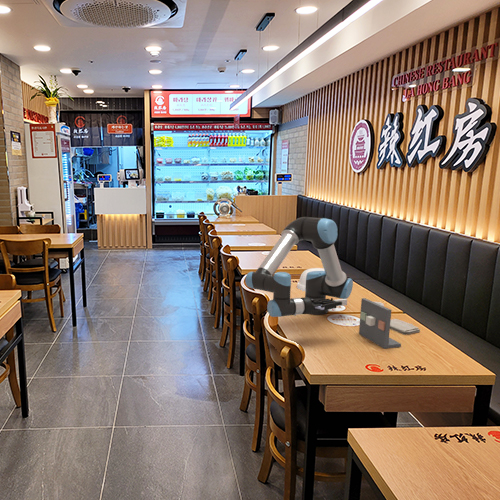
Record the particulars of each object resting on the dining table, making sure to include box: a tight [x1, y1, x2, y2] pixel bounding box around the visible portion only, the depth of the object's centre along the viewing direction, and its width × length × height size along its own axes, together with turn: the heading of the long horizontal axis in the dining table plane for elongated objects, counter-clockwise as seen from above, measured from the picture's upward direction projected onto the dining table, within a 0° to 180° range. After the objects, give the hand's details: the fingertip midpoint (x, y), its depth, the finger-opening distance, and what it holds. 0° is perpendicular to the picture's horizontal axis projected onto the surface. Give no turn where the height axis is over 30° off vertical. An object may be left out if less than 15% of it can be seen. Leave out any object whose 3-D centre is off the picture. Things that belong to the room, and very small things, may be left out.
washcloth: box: [390, 318, 421, 336], centre depth 227 cm, size 12×18×3 cm, turn 30°
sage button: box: [359, 311, 367, 321], centre depth 212 cm, size 4×4×4 cm
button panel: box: [358, 298, 402, 350], centre depth 207 cm, size 20×9×18 cm, turn 20°
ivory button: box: [366, 316, 376, 326], centre depth 205 cm, size 4×4×4 cm
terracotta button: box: [378, 320, 385, 331], centre depth 199 cm, size 4×4×4 cm
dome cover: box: [296, 267, 325, 292], centre depth 305 cm, size 32×30×14 cm
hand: (346, 302), depth 206 cm, fingers closed
